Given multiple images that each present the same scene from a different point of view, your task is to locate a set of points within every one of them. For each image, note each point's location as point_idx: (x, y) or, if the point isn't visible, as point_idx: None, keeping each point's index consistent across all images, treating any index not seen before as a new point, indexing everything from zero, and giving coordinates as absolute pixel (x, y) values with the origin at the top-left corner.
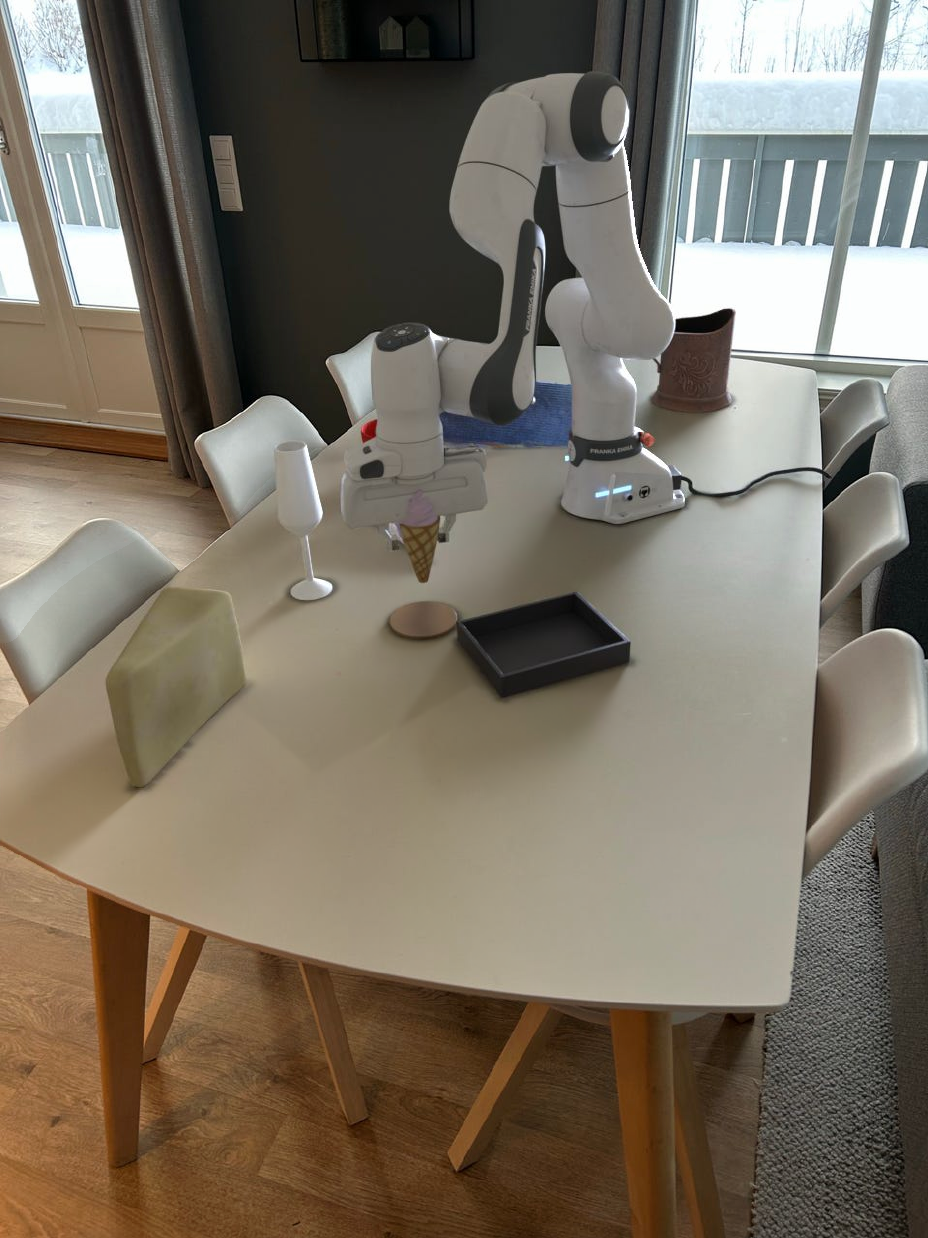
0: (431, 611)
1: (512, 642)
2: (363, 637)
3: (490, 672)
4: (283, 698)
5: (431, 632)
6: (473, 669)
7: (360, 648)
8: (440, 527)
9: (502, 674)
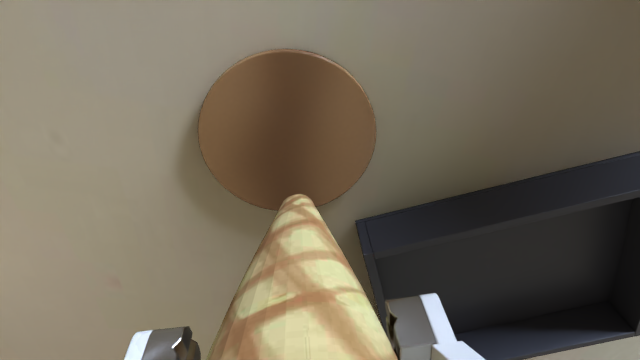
0: (313, 112)
1: (460, 244)
2: (139, 180)
3: None
4: (32, 326)
5: None
6: (366, 294)
7: (141, 218)
8: (425, 344)
9: None
